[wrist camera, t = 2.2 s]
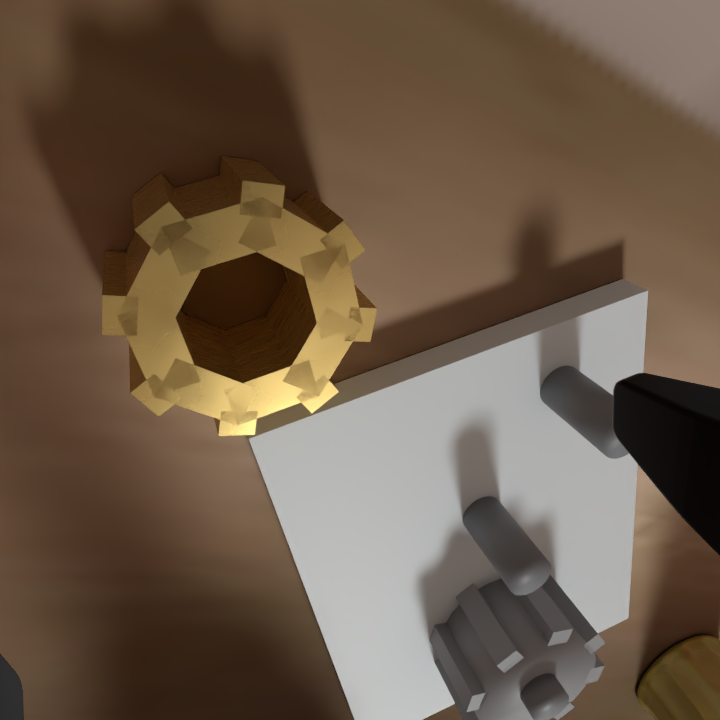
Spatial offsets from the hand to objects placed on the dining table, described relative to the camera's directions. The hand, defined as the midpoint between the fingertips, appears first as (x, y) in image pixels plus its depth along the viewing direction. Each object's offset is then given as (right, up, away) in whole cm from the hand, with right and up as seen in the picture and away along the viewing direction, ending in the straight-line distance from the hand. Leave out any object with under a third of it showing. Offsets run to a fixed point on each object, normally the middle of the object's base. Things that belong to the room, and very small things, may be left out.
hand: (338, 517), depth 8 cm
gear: (-3, +4, +8) cm, 10 cm away
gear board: (+5, -5, +16) cm, 18 cm away
